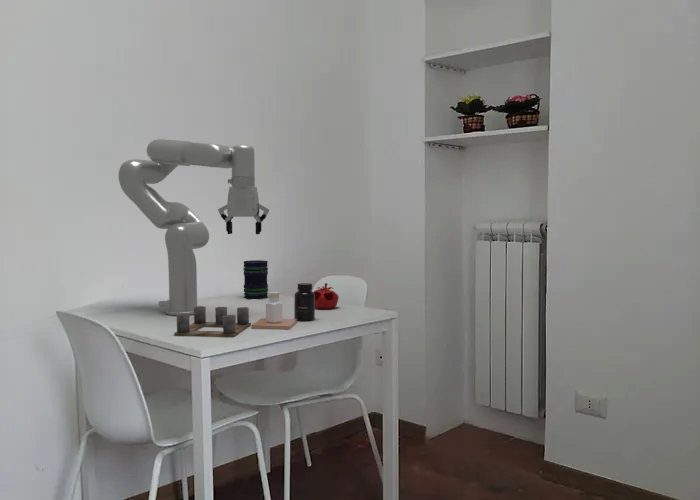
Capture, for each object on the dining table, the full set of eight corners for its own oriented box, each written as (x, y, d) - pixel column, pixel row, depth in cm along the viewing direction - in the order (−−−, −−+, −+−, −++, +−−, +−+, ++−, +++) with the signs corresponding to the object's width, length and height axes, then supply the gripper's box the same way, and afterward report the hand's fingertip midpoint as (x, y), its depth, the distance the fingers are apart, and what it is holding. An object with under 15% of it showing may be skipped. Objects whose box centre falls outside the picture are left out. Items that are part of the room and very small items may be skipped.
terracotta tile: (251, 328, 198) (251, 325, 198) (261, 321, 210) (261, 318, 210) (289, 329, 197) (289, 326, 197) (297, 322, 209) (297, 319, 209)
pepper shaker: (274, 320, 206) (274, 291, 206) (283, 321, 204) (283, 292, 203) (265, 322, 203) (265, 292, 202) (274, 323, 201) (273, 293, 200)
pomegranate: (316, 306, 243) (316, 281, 243) (342, 306, 240) (341, 282, 240) (307, 309, 234) (307, 284, 233) (333, 310, 231) (333, 284, 230)
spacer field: (174, 335, 188) (173, 316, 187) (196, 324, 206) (195, 306, 205) (234, 337, 186) (233, 317, 185) (251, 325, 203) (250, 307, 203)
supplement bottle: (299, 322, 209) (299, 285, 208) (291, 318, 215) (290, 283, 214) (318, 320, 212) (318, 284, 211) (310, 317, 218) (309, 282, 217)
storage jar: (240, 299, 259) (239, 262, 257) (248, 295, 268) (247, 260, 267) (264, 299, 257) (263, 262, 256) (271, 296, 267) (270, 260, 265)
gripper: (214, 182, 212) (215, 234, 213) (265, 182, 210) (266, 234, 211) (221, 183, 219) (222, 233, 221) (271, 183, 217) (271, 233, 219)
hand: (243, 234), depth 216 cm, fingers open, 9 cm apart
